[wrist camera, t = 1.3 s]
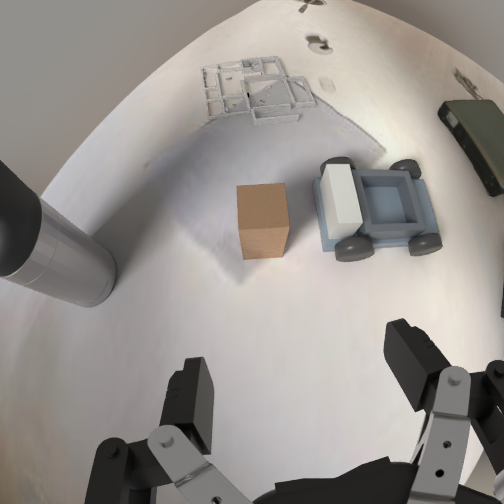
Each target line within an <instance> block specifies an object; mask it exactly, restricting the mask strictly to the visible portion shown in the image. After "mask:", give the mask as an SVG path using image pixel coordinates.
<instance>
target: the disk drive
mask: <svg viewBox="0 0 504 504" xmlns="http://www.w3.org/2000/svg"><path fill="white" fill-rule="evenodd" d="M501 309H502V310H501V317H502V318H504V286H503V299H502V308H501Z"/></svg>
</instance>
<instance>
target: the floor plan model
mask: <svg viewBox="0 0 504 504" xmlns="http://www.w3.org/2000/svg"><path fill="white" fill-rule="evenodd" d="M266 62H268V63H274V62H275V64H276V66H277V68H278V71H279V73H280V74H269V75H265V72H264V67H263V64H262V63H266ZM257 63H258V65H259V66H255V67H254V69H252V67H251V64H255V65H257ZM238 64H240V65H241V67H237V68H230V69H223V70H218V67H223V66H230V65H238ZM247 66H249V67H247ZM210 68H217V73H215V80H216V86H213V87H207V88H205V87H206V81H204V79H205V77H206V74H205V72H204V77H203V70H205V69H210ZM236 71H242V74H244V73H253V72H261V75H257V76H247V77H244V81H245V83H246V82H250V83H252V82H255V81H265V80H276V79H282V81H283V83H284V86H285V88H286V91H287V93H288V96H289V98H290V101H291V103H292V106H296V108H309V107H315V106H316V102H315V100H314V98H313V96H312V94H311V92H310V89H309V87H308V85H307V83H306V81H305V79H304V77H303V76H300V77H286V75H285V73H284V71H283V68H282V66H281V64H280V62H279V59H278V57H277V56H273V57H261V58H251V59H242V60H240V61H237V62H230V63H223V64H216V65H210V66H204V67H201V77H202V86H203V93H204V92H205V95H206V91H212V90H217V91H218V96H219V97H217V98H211V99H207V96H206V103H207V111H208V103H213V102H219V101H221V102H222V108H223V114H221V115H215V116H209V112H208V119H209V120H211V119H217V118H223V117H228V116H235V115H242V114H249V113H251V116H252V119H253V123H254V126H260V125H269V124H277V123H287V122H297V121H298V120H299V114H297V115H286V116H276V117H260V118H259V117H258V119H256V117H255V114H258V113H267V112H276V111H286V110H291V103H288V104H277V105H268V106H264V105H257V102H256V101H255V103H256V106H257V107H253V108H252V109H251V107H250V105H251V104H249V100H248V97H249V93H247V92H246V88H245V85H244V81H243V80H241V87H242V91H243V93H237V94H230V95H224V96H221V90H220V84H219V79H218V73H219V74H222V73H229V72H236ZM230 79H232V78H226V80H230ZM298 81H302V84H303V86H304V88H305V90H306V92H307V94H308V97H309V99H310V101H308V102H295V99H294V97H293V94H292V92H291V89H290V87H289V85H288V82H298ZM204 84H205V85H204ZM267 88H272V86H270V87H265V88H264V89H267ZM267 97H270V95H267ZM240 98H244V99H245V103H246V107H247V111H239V112H233V113H229V112H228V107H226V106H225V108H224V105H225V103H223V101H226V100H233V99H240ZM261 102H263V103H265V101H262V100H261ZM233 106H236V104H233ZM258 106H259V107H258ZM225 111H226V114H225Z"/></svg>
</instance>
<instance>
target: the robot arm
mask: <svg viewBox="0 0 504 504" xmlns="http://www.w3.org/2000/svg"><path fill="white" fill-rule="evenodd" d="M0 277H1V278H3V279H6V280H8V281H11V282H13V283H16V284H19V285H22V286H24V287H27V288H30V289H32V290H35V291H38V292H41V293H43V294H46V295H49V296H52V297H55V298H58V299H61V300H64V301H67V302H70V303H73V304H76V305H79V306H83V307H92V306H96V305H98V304H99V303H101V302H103V301H104V300H105V299H106V298H107V296H108V295H109V294H110V292H111V290H112V288H113V286H114V282H115V278H116V266H115V262H114V259H113V257H112V255H111V254H110V253H109V251H108V250H107V249H105V248H104V247H102V246H101V245H100V244H98V243H97V242H96V241H95V240H93V239H92V238H91V237H89V236H88V235H87V234H85V233H84V232H83V231H82V230H80V229H79V228H78V227H76V226H75V225H74V224H73V223H71V222H70V221H69V220H68V219H66V218H65V217H64V216H63V215H61V214H60V213H59V212H58V211H56V210H55V209H54V208H53V207H51V206H50V205H49V204H48V203H46V202H45V201H44V200H43V199H42V198H40V197H39V196H38V195H37V194H36V193H34V192H33V191H32V190H31V189H30V188H29V187H27V186H26V185H25V184H24V183H23V182H22V181H21V180H20V179H19V178H18V177H17V176H16V175H15V174H14V173H13V172H12V171H11V170H10V169H9V168H8V167H7V166H6V165H5V164H4V163H3V162H2V161H1V160H0ZM384 357H385V360H386V362H387V364H388V365H389V367H390V369H391V370H392V372H393V374H394V376H395V377H396V379H397V381H398V383H399V384H400V386H401V388H402V390H403V391H404V393H405V395H406V397H407V399H408V400H409V402H410V404H411V406H412V408H413V409H414V411H415V412H417V411H420V410H422V409H424V411H425V412H426V414H425V417H424V420H423V424H422V427H421V431H420V434H419V438H418V441H417V444H416V447H415V450H414V453H413V455H412V458H411V460H410V462H409V463H407V462H390V459H389V457H388V456H387V457H384V458H381V459H378V460H375V461H372V462H368V463H365V464H362V465H360V466H358V467H356V468H354V469H353V470H351V471H349V472H347V473H345V474H343V475H341V476H339V477H336V478H303V479H297V480H291V481H285V482H278V483H275V490H272V491H269V492H267V493H265V494H263V495H262V496H260V497H258V498H257V499H255V500H254V501H253V502H251V501H250V500H249V499H248V498H247V497H245V496H244V495H243V494H242V493H241V492H240V491H239V490H238V489H237V488H236V487H235V486H234V485H233V484H232V483H231V482H230V481H229V480H228V479H227V478H226V477H225V476H224V475H223V474H222V473H221V472H220V471H219V470H218V469H217V468H216V467H215V466H214V465H213V464H211V463H209V462H208V461H207V460H206V459H205V458H204V457H203V455H209V454H211V443H212V424H213V406H214V386H213V382H212V379H211V376H210V373H209V370H208V367H207V365H206V362H205V359H204V357H195V358H186V359H185V363H184V368H183V370H182V371H175V373H174V374H173V375H172V377H171V378H170V379H169V384H168V388H167V390H168V391H167V392H166V398H165V401H164V406H163V411H162V415H161V420H160V425H159V427H158V428H156V429H154V430H153V431H152V432H151V433H150V435H149V437H148V438H147V439H145V440H142V441H138V442H133V443H129V444H127V443H126V442H125V441H124V440H122V439H120V438H109V439H106V440H104V441H103V442H102V443H101V444H100V445H99V446H98V448H97V451H96V455H95V459H94V463H93V467H92V471H91V475H90V479H89V484H88V488H87V493H86V498H85V503H84V504H156V493H157V486H162V485H166V484H170V483H174V484H175V486H176V488H177V489H178V491H179V492H180V493H181V494H182V496H183V497H184V498H185V499H186V501H187V502H188V503H189V504H504V417H503V415H504V361H502V360H494V361H492V362H490V363H489V364H488V365H487V368H486V370H485V371H482V372H476V373H468V372H467V371H466V370H465V369H464V368H462V367H458V366H452V365H451V364H450V363H449V361H448V360H447V359H446V358H445V356H444V355H443V354H442V353H441V351H440V350H439V349H438V348H437V346H435V344H434V343H433V341H432V340H430V338H429V336H428V335H427V334H426V333H425V332H424V331H423V330H421V329H419V328H418V327H416V326H414V327H411V326H410V325H409V324H408V323H407V321H406V320H405V319H403V318H402V319H398V320H395V321H391V322H388V323H387V325H386V333H385V341H384ZM497 406H498V407H499V409H500V410H501V412H502V413H503V415H502V414H501V412H500V411H499V409H498V407H497ZM470 423H471V425H472V427H473V429H474V431H475V433H476V434H477V436H478V438H479V440H480V442H481V444H482V446H483V448H484V450H485V452H486V454H487V456H488V458H489V460H490V462H491V464H492V466H493V468H494V470H495V473H496V475H497V477H496V479H495V482H494V491H493V493H494V495H495V497H492V496H489V495H486V494H484V493H481V492H478V491H476V490H473V489H471V488H468V487H466V486H463V485H461V484H459V480H460V476H461V472H462V468H463V463H464V458H465V453H466V448H467V443H468V437H469V430H470Z"/></svg>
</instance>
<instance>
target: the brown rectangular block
mask: <svg viewBox="0 0 504 504" xmlns="http://www.w3.org/2000/svg"><path fill="white" fill-rule="evenodd" d="M237 208H238V228H239V236H240V242H241V248H242V254H243V260H247V259H263V258H278V257H282V256H283V252H284V248H285V244H286V240H287V236H288V232H289V228H290V224H289V216H288V207H287V199H286V192H285V184H284V183H278V184H259V185H243V186H237Z"/></svg>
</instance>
